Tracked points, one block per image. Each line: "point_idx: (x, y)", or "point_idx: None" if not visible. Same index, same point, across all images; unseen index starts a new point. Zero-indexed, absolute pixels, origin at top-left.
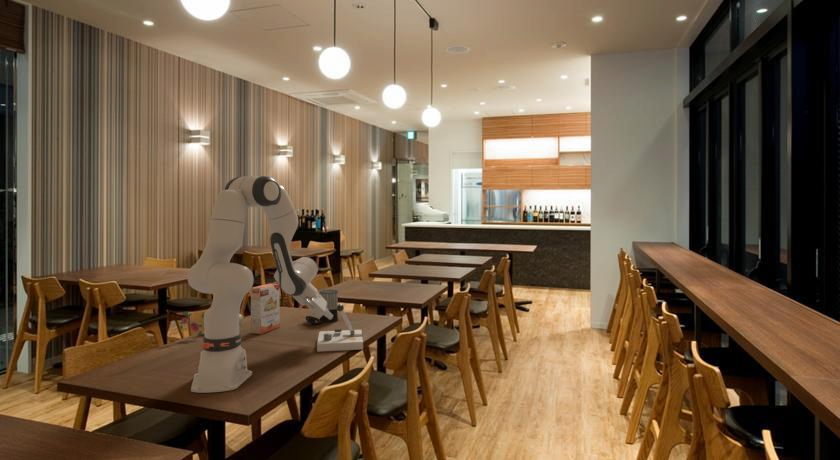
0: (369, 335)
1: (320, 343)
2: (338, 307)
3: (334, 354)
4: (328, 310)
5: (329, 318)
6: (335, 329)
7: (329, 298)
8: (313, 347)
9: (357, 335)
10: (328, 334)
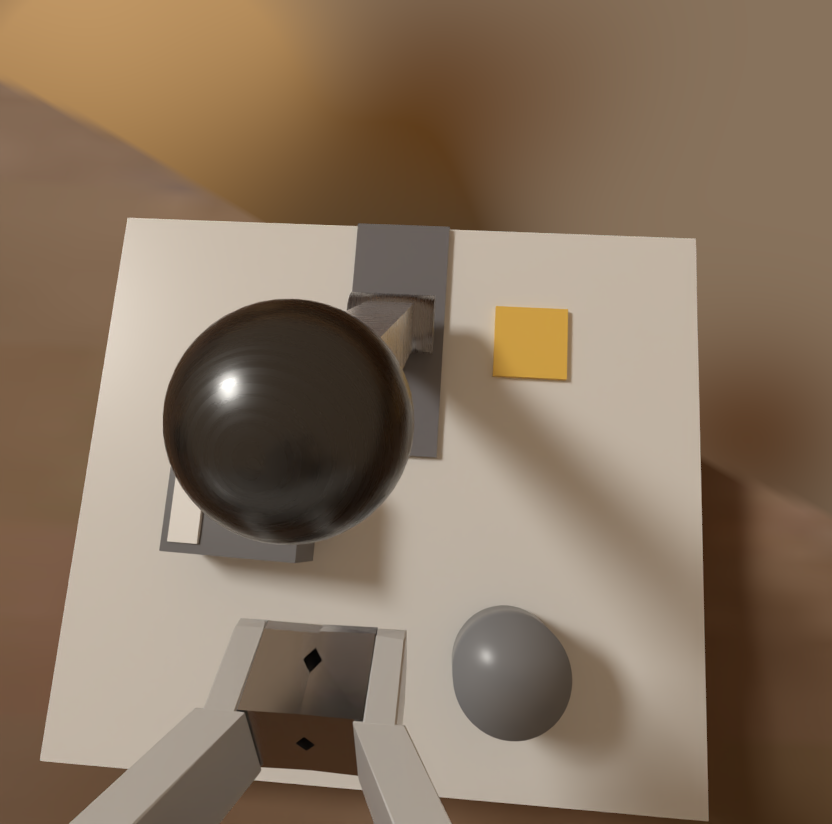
0: (154, 177)
1: (682, 768)
2: (387, 476)
3: (806, 576)
4: (162, 792)
5: (403, 708)
6: (296, 547)
7: None
8: (478, 816)
9: (412, 278)
10: (520, 664)
